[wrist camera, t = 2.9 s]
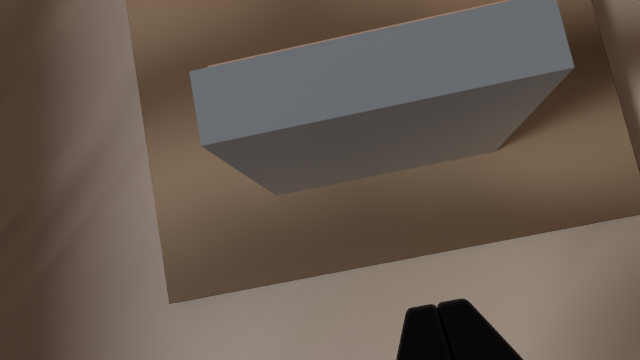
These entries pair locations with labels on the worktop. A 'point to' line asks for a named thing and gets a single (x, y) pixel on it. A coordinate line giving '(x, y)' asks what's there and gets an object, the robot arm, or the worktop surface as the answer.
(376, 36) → the tile
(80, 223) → the worktop surface
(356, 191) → the board
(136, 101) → the worktop surface
